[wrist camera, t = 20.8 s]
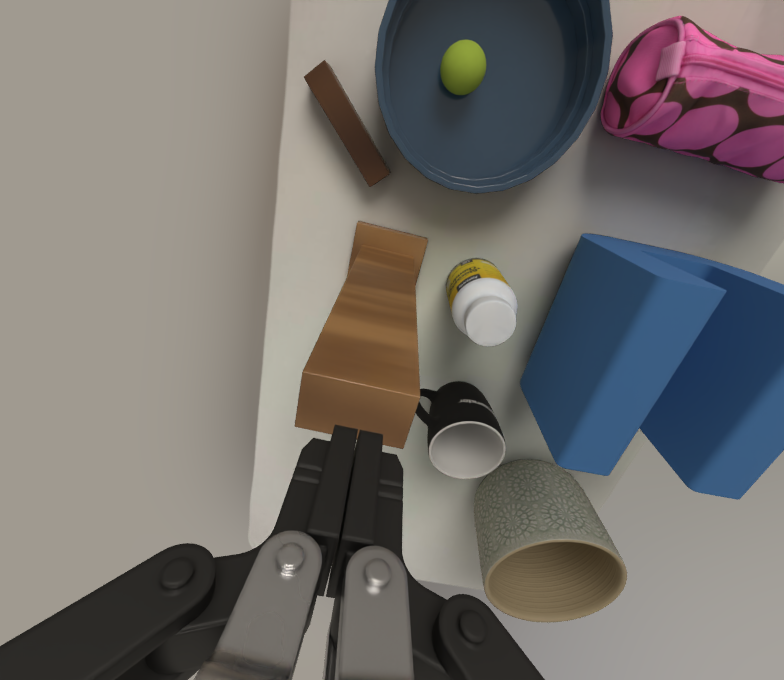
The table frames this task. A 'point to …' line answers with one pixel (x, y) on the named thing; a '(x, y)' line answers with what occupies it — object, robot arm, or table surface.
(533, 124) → the bowl
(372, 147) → the stick
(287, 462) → the table surface
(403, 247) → the stand
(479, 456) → the mug
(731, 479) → the block
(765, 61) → the pencil case
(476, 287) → the pill bottle
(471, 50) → the grape
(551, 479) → the planter
